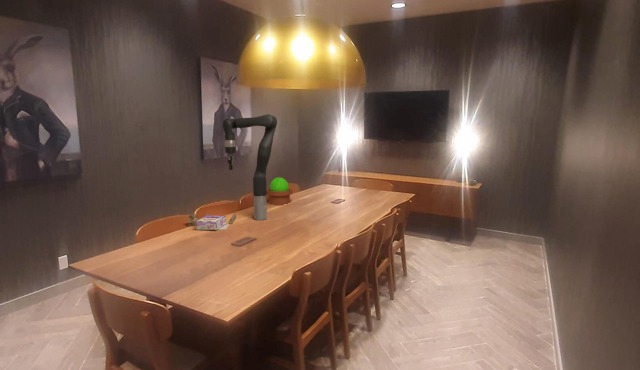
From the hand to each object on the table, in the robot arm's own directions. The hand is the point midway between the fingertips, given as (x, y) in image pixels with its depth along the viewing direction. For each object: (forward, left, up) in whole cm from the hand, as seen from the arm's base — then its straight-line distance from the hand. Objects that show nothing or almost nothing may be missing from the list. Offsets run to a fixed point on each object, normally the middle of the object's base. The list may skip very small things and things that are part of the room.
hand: (231, 169), depth 267 cm
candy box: (+6, +26, -32) cm, 42 cm away
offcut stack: (+22, +26, -35) cm, 49 cm away
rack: (+6, +18, -35) cm, 40 cm away
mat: (+6, +35, -35) cm, 50 cm away
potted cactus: (-34, -39, -35) cm, 63 cm away
